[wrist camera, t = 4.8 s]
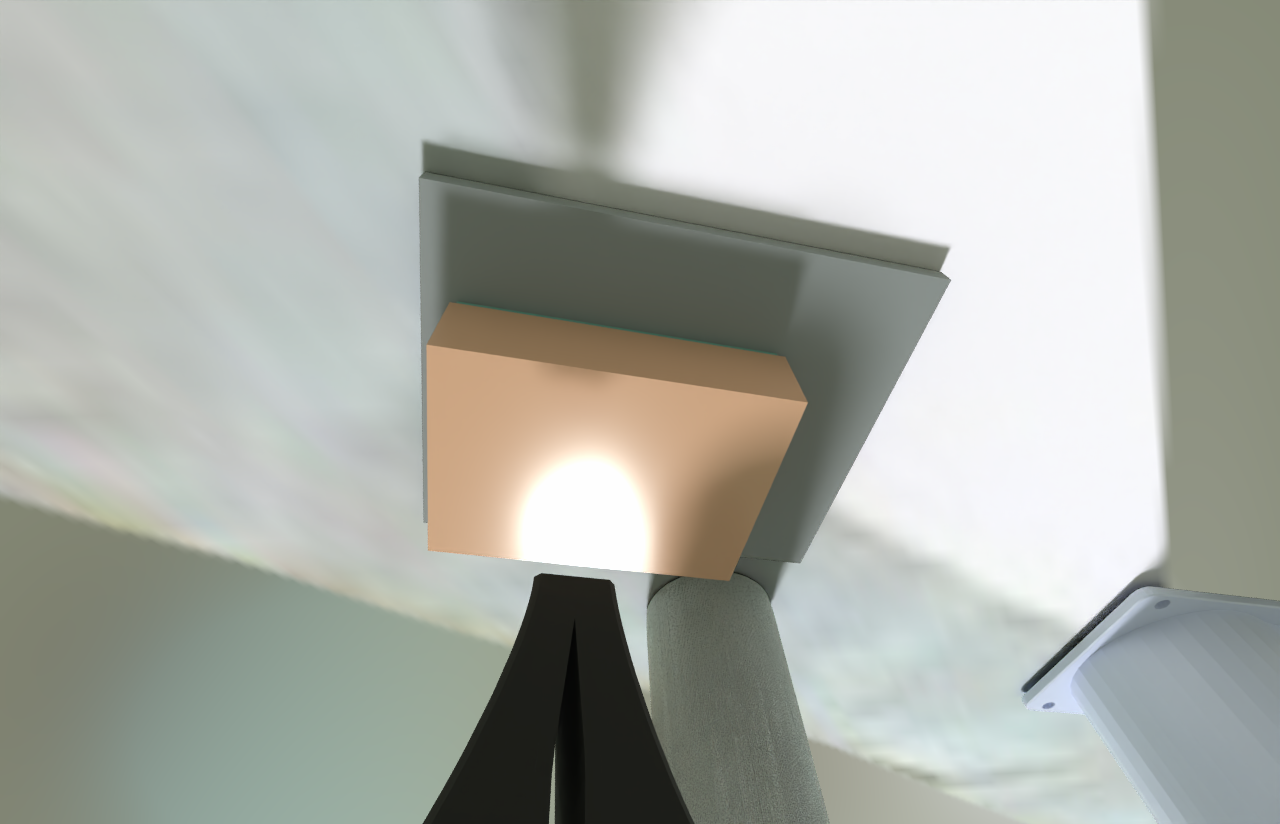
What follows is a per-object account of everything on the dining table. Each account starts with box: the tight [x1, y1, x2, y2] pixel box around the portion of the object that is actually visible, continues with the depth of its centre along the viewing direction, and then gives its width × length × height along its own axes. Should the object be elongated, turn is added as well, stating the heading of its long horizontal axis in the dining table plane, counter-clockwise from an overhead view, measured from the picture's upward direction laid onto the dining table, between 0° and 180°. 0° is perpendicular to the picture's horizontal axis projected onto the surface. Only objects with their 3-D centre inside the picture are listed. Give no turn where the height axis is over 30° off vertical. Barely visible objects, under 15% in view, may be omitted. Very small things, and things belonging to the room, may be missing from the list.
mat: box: [419, 172, 951, 563], centre depth 16 cm, size 12×10×1 cm
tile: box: [426, 301, 808, 581], centre depth 15 cm, size 2×6×8 cm
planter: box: [647, 573, 830, 824], centre depth 17 cm, size 4×4×10 cm
